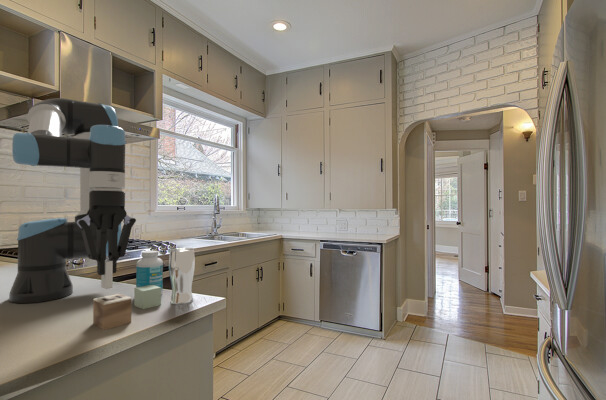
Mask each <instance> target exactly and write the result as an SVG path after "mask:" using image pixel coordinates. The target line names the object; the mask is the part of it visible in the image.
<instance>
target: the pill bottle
mask: <svg viewBox="0 0 606 400" xmlns="http://www.w3.org/2000/svg"><path fill="white" fill-rule="evenodd" d="M158 256H159V251H158V250H144V251H141V257H142V258H140V259H139V260H138V261H137V262H136V264H135V265H136V267H135V268H136V269H135V270H136V273H135V275H136V277H135V288H137V287H142V286H147V285H155V286H158V287H161V295H162V294H163V290H164V289H163V288H164V285H163V284H164V283H163V281H164V277H163V276H164V261H163V259H161V258H160V257H158Z"/></svg>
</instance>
